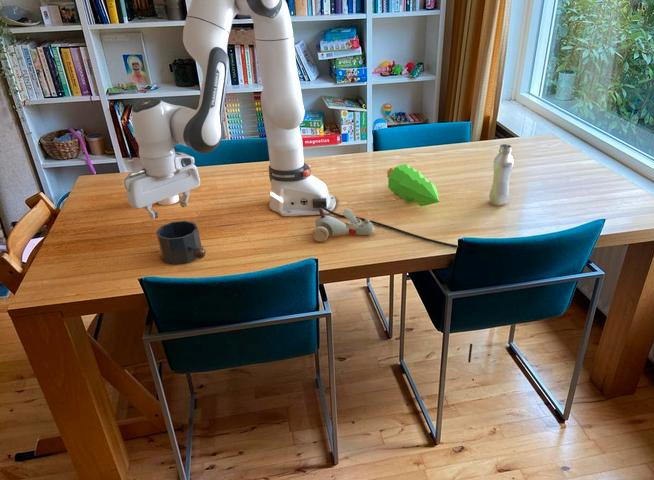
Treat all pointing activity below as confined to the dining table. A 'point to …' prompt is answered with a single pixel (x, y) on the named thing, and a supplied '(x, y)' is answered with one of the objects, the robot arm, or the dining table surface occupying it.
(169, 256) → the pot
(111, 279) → the dining table surface
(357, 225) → the toy dog
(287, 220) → the dining table surface
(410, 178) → the decorative tree
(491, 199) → the plastic bottle
